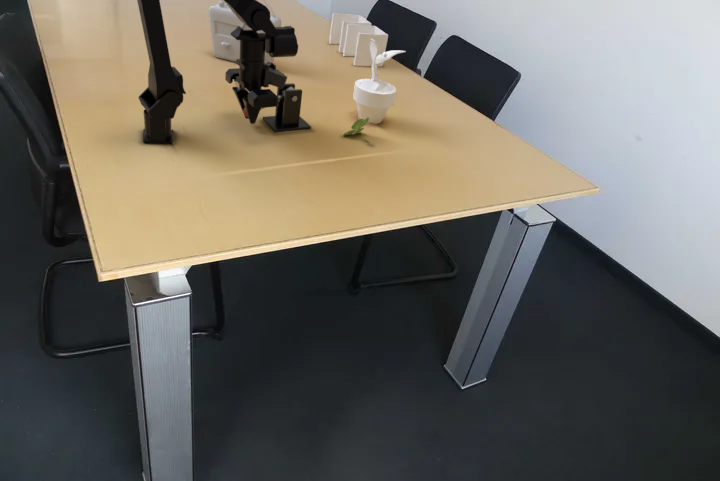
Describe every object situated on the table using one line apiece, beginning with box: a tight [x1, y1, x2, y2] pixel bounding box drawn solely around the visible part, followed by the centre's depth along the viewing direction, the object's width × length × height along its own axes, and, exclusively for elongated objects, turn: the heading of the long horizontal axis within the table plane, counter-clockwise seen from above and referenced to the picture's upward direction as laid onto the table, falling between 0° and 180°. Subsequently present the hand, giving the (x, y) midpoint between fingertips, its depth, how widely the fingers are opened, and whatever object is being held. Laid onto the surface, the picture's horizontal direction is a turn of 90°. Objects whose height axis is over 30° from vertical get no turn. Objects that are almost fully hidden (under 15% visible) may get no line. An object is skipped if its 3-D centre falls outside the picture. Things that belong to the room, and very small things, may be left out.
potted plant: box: [352, 35, 407, 125], centre depth 151 cm, size 13×12×25 cm
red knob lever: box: [242, 87, 296, 117], centre depth 139 cm, size 14×3×3 cm, turn 122°
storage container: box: [328, 12, 389, 67], centre depth 205 cm, size 25×11×11 cm, turn 24°
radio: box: [208, 0, 282, 64], centre depth 174 cm, size 22×8×25 cm, turn 76°
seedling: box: [343, 117, 370, 144], centre depth 144 cm, size 7×8×6 cm
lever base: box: [261, 82, 312, 133], centre depth 142 cm, size 10×8×10 cm
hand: (250, 120), depth 139 cm, fingers closed on red knob lever, 3 cm apart
